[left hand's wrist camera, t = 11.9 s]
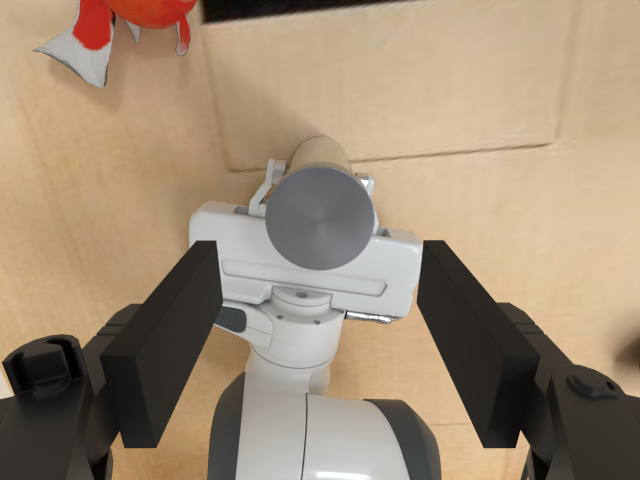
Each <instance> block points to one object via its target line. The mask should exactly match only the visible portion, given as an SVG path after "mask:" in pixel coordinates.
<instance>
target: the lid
mask: <svg viewBox="0 0 640 480" xmlns="http://www.w3.org/2000/svg"><path fill="white" fill-rule="evenodd" d="M265 224H266V230H267V234H268V236H269V239H270V241H271V243H272V245H273V246H274V247H275V249H276V250H277V251H278V252H279V253H280V255H281V256H283V257H284V258H285V259H286V260H288V261H289V262H291V263H292V264H295V265H297V266H299V267H302V268H305V269H309V270H317V271H319V270H331V269H335V268H338V267H341V266H344V265H345V264H347V263H349V262H351V261H352V260H354V259H355V258H356V257H357V256H358V255H360V254H361V252H362V251H363V250H364V249H365V247H366V246H367V244H368V243H369V241H370V239H371V236H372V233H373V230H374V224H375V213H374V207H373V203H372V201H371V198H370V196H369V194H368V192H367V190H366V188H365V186H364V184H363V183H362V182H361V180H360V179H359V178H358V177H357V176H356V175H355V174H354V173H352V172H351V171H350V170H348V169H346V168H345V167H343V166H340V165H338V164H335V163H331V162H323V161H320V162H309V163H306V164H302V165H300V166H297V167H295V168H294V169H292V170H290V171H289V172H288V173H286V174H285V175H284V176H283V177H282V178H281V179H280V180H279V182H278V183H277V185H276V186H275V188H274V190H273V192H272V194H271V196H270V198H269V201H268V203H267V207H266V212H265Z"/></svg>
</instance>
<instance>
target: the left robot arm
mask: <svg viewBox="0 0 640 480" xmlns="http://www.w3.org/2000/svg"><path fill="white" fill-rule="evenodd" d="M222 305H223V294H222V286H221V277H220V268H219V259H218V250H217V241H216V240H196V241H195V243H194V244H193V245H192V246H191V247H190V249H189V250H188V251H187V252H186V253H185V254H184V256H183V257H182V258H181V259H180V260H179V262H178V263H177V264H176V265H175V266H174V267H173V269H172V270H171V271H170V272H169V273H168V275H167V276H166V277H165V278H164V279H163V281H162V282H161V283H160V284H159V285H158V286H157V288H156V289H155V290H154V291H153V292H152V294H151V295H150V296H149V297H148V298H147V299H146V301H145V302H144V303H143V304H130V305H128V306H127V307H125V308H123V309H122V310H120V311H118V312H117V313H115V314H114V315H113V317H112V318H111V319H110V320H109V321H108V322H107V323H106V324H105V326H103V327H102V328H101V329H100V330H99V332H98V333H97V336H94V337H93V338H92V339H91V340H90V341H89V342H88V343H87V344H86V345H85V347H84V348H83V349H82V350H81V347H80V344H79V340H78V339H77V338H75V337H74V336H71V335H64V334H61V335H52V336H47V337H43V338H40V339H36V340H34V341H31V342H29V343H27V344H25V345H23V346H21V347H19V348H18V349H16V350H15V351H13V352H12V353H10V354H9V355H8V356H7V357H6V358H5V360H4V361H3V362H2V364H3V367H4V369H5V371H6V374H7V376H8V379H9V381H10V384H11V386H12V389H13V391H14V394H15V395H14V396H13V397H9V398H4V399H0V480H111V479H112V469H113V456H112V451H111V448H110V446H111V445H112V443H113V441H114V440H115V438H116V436H117V434H118V433H119V431H120V433H121V437H122V441H123V444H124V448H157V445H158V443H159V441H160V439H161V437H162V435H163V432H164V430H165V428H166V426H167V424H168V422H169V419H170V417H171V415H172V413H173V411H174V409H175V406H176V404H177V402H178V400H179V398H180V396H181V393H182V391H183V389H184V387H185V385H186V383H187V380H188V378H189V376H190V374H191V372H192V370H193V367H194V365H195V363H196V361H197V359H198V357H199V354H200V352H201V350H202V348H203V346H204V344H205V342H206V339H207V337H208V335H209V333H210V331H211V329H212V326H213V324H214V322H215V320H216V318H217V316H218V313H219V311H220V309H221V307H222ZM417 305H418V307H419V309H420V311H421V313H422V316H423V318H424V320H425V322H426V324H427V326H428V329H429V331H430V333H431V335H432V337H433V339H434V342H435V344H436V346H437V348H438V350H439V352H440V354H441V357H442V359H443V361H444V363H445V365H446V367H447V370H448V372H449V374H450V376H451V378H452V380H453V383H454V385H455V387H456V389H457V391H458V393H459V396H460V398H461V400H462V402H463V404H464V406H465V409H466V411H467V413H468V415H469V417H470V419H471V422H472V424H473V426H474V428H475V430H476V432H477V435H478V437H479V439H480V441H481V443H482V445H483V448H516V444H517V441H518V437H519V433H520V430H521V431H522V433H523V434H524V436H525V438H526V439H527V441H528V443H529V444H530V448H529V451H528V455H527V458H526V462H525V465H524V468H523V472H522V475H521V480H527V478H528V477H529V480H640V398H639V397H634V396H630V395H626V394H625V393H624V392H623V390H622V389H621V388H620V386H619V385H618V384H617V383H615V382H614V381H613V380H611V379H610V378H609V377H607V376H606V375H604V374H602V373H600V372H598V371H596V370H594V369H591V368H587V367H584V366H581V365H574V364H573V363H572V362H571V361H570V360H569V359H568V358H567V357H566V355H565V354H564V353H563V352H562V351H561V350H560V349H559V348H558V347H557V346H556V345H555V344H554V343H553V342H552V341H551V339H550V338H549V337H548V336H547V335H544V332H543V331H542V330H541V329H540V328H539V327H538V326H537V325H535V322H534V321H533V320H532V319H531V318H530V317H529V316H528V315H527V314H526V313H525V312H524V311H522V310H521V309H519V308H517V307H516V306H514V305H512V304H511V303H496V302H495V301H494V299H493V298H492V297H491V296H490V295H489V294H488V292H487V291H486V290H485V289H484V288H483V286H482V285H481V284H480V283H479V282H478V281H477V279H476V278H475V277H474V276H473V275H472V273H471V272H470V271H469V270H468V269H467V267H466V266H465V265H464V264H463V263H462V262H461V260H460V259H459V258H458V257H457V256H456V254H455V253H454V252H453V251H452V250H451V249H450V247H449V246H448V245H447V244H446V243H445V241H444V240H424V241H423V250H422V259H421V268H420V277H419V286H418V294H417Z"/></svg>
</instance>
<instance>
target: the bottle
mask: <svg viewBox="0 0 640 480" xmlns="http://www.w3.org/2000/svg"><path fill="white" fill-rule="evenodd" d="M320 161H323V162H331V163H335V164H338V165H340V166H343V167H345V168H346V169H348V170H350V171H351V172H352V173H353V171H352V169H351V167H350V164H349V162H348V159H347V157H346V155H345V152H344V150H343V148H342V147H341V146H340V145H339V144H338V143H337V142H336V141H334V140H333V139H331V138H328V137H323V136H317V137H312V138H309V139H307V140H306V141H304V142H303V143H302V144H301V145H300V146H299V147H298V149H297V150H296V152H295V154H294V157H293V159H292V162H291V164H290V166H289V169H288V171H287V173H288V172H289V171H290V170H292V169H294V168H295V167H297V166H300V165H302V164H306V163H309V162H320Z"/></svg>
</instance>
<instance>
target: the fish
mask: <svg viewBox="0 0 640 480" xmlns="http://www.w3.org/2000/svg"><path fill="white" fill-rule="evenodd" d="M196 1H197V0H77V14H76V18H75V20H74V22H73V24H72V25H71V26H70V27H69V28H68V29H67V30H66V31H65V32H63V33H61V34H59V35H58V36H56V37H55V38H53V39H51V40H50V41H48V42H46V43H45V44H43V45H41V46H39V47H38V48H36V49H34V50H32V51H36V52H42V53H44V54H46V55H48V56H50V57H52V58H55V59H56V60H58V61H59V62H61V63H62V64H64V65H65V66H67V67H69V68H70V69H71V70H73V71H74V72H75V73H76V74H77V75H78V76H80V77H81V78H82V79H83V80H84V81H86V82H88V83H90V84H92V85H94V86H96V87H98V88H100V89H103V88H104V86H105V84H106V79H107V66H108V61H109V56H110V51H111V45H112V39H113V32H114V26H115V19H116V17H115V13H116V14H117V15H119V16H120V17H122V18H123V19H124V20H125V22H126V24H127V25H128V27H129V29H130V31H131V33H132V35H133V37H134V39H135V41H136V42H138V39H139V32H140V27H144V28H150V29H163V28H167V27H170V26H172V25H174V24H176V28H177V33H178V42H177V46H176V52H177V54H178V55H179V56H181V55H184V54H186V53H187V50H188V47H189V42H190V39H191V38H190V27H189V16H188V15H187V14H188V13H189V12H190V10H192V8H193V7H194V5H195V3H196Z"/></svg>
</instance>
